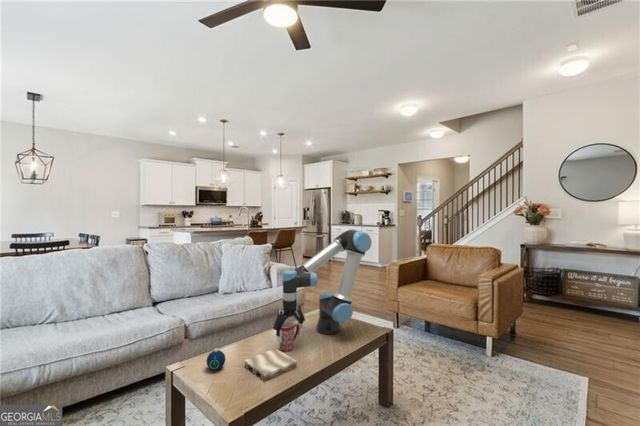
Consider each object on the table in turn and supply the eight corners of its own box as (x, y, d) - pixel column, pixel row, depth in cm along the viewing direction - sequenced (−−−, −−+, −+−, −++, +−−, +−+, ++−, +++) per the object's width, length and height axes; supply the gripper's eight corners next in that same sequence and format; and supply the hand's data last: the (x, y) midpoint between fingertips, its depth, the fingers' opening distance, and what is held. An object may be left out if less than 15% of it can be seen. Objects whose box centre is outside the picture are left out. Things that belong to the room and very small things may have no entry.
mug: (283, 354, 159) (284, 328, 159) (274, 348, 166) (274, 323, 166) (303, 347, 167) (303, 322, 167) (293, 341, 174) (293, 318, 174)
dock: (275, 354, 160) (275, 348, 159) (297, 367, 146) (297, 361, 146) (244, 366, 147) (244, 360, 147) (265, 381, 134) (265, 375, 134)
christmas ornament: (202, 372, 142) (202, 350, 142) (213, 363, 150) (213, 343, 150) (218, 374, 140) (218, 352, 139) (228, 365, 148) (228, 345, 148)
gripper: (302, 293, 178) (302, 330, 178) (266, 302, 161) (266, 342, 161) (311, 296, 172) (311, 333, 173) (274, 305, 155) (274, 347, 156)
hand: (289, 338), depth 167 cm, fingers open, 13 cm apart
